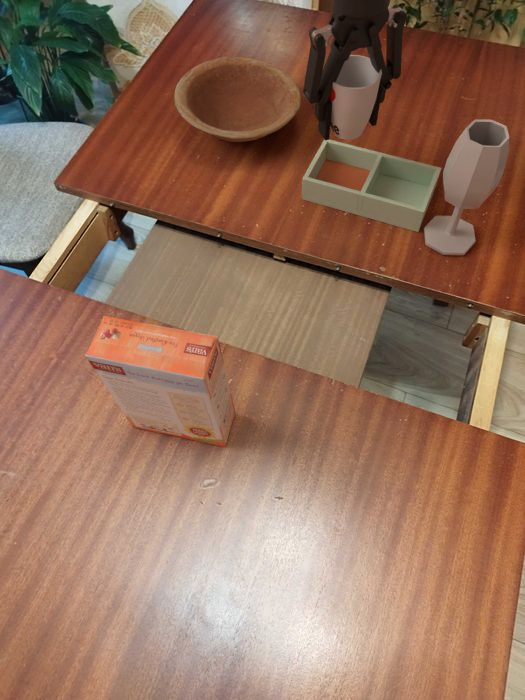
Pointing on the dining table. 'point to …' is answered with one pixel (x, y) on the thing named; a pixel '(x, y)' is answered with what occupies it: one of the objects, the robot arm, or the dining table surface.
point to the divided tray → (370, 184)
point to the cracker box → (165, 379)
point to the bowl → (237, 98)
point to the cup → (353, 97)
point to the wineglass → (468, 183)
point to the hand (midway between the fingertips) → (347, 127)
